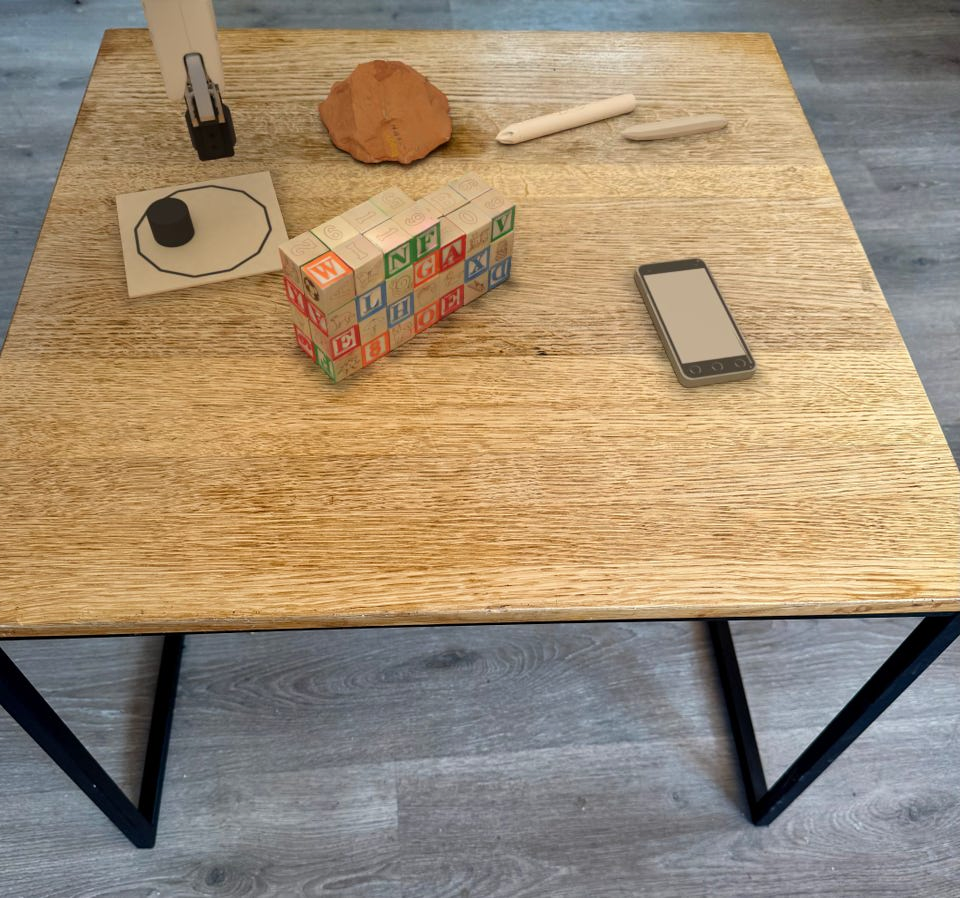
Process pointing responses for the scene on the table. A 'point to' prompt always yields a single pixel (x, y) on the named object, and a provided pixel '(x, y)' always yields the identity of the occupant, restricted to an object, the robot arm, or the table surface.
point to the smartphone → (694, 322)
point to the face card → (204, 234)
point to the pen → (676, 127)
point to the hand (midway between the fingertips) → (213, 139)
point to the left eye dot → (170, 222)
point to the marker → (567, 119)
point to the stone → (386, 113)
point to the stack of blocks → (394, 269)
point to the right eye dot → (225, 112)
